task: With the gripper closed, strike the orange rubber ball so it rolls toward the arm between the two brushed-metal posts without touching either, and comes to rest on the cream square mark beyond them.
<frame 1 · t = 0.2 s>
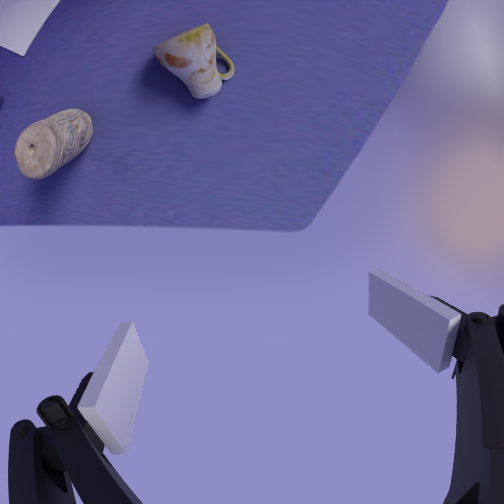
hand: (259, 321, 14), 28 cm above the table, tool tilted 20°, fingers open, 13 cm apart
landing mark: (23, 5, 15), on the table
mug: (196, 64, 29), on the table
carving: (75, 132, 30), on the table
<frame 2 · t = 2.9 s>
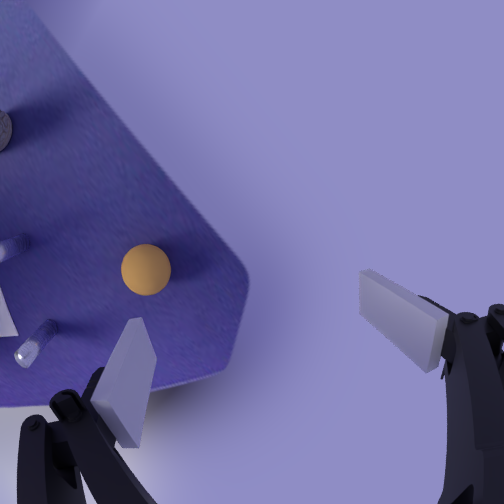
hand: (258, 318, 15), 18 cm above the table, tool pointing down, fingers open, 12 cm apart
post 1: (51, 326, 31), on the table
ball: (145, 269, 29), on the table
post 2: (23, 242, 28), on the table
carving: (2, 133, 24), on the table
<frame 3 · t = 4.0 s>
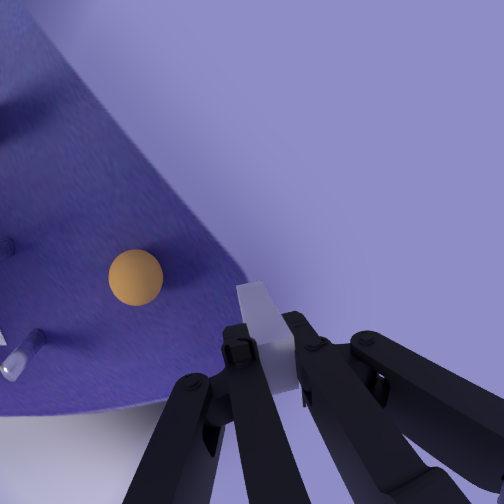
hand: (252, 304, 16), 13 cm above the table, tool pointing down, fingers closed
post 1: (38, 336, 28), on the table
ball: (135, 277, 26), on the table
post 2: (8, 247, 24), on the table
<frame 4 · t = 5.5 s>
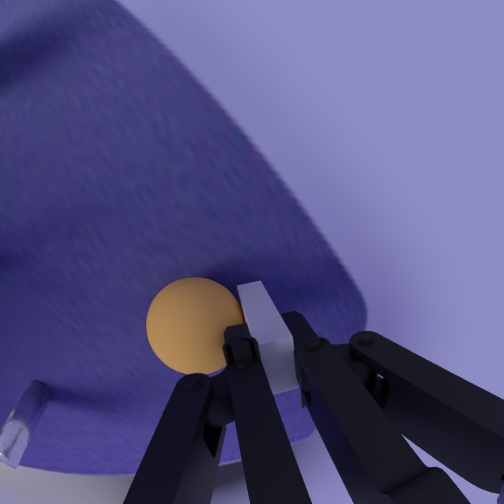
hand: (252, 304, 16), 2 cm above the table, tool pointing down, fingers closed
post 1: (41, 390, 17), on the table
ball: (195, 326, 15), on the table, touching gripper
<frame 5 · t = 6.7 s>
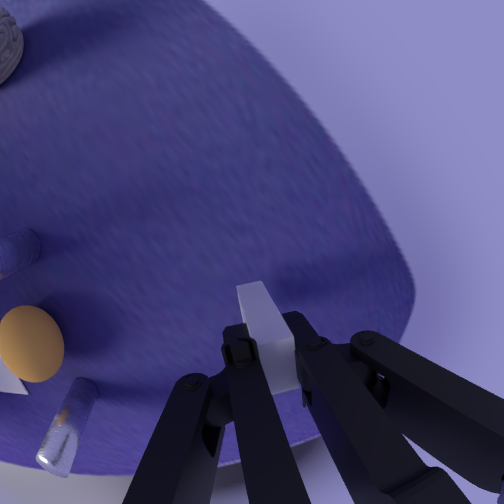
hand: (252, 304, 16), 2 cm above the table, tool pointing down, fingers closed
post 1: (85, 388, 18), on the table
ball: (30, 344, 14), on the table
post 2: (28, 246, 15), on the table
carving: (4, 62, 11), on the table
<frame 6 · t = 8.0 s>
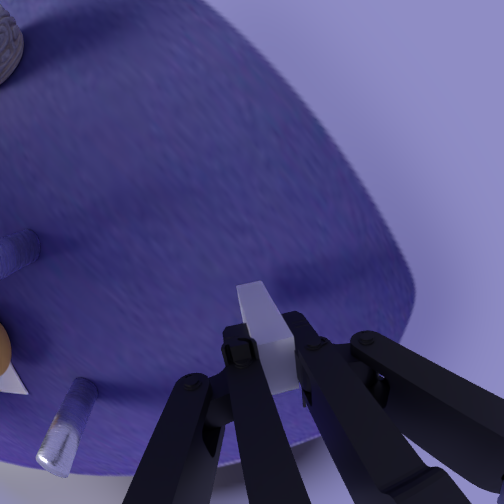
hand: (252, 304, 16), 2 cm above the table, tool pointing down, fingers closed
post 1: (85, 388, 18), on the table
post 2: (28, 246, 15), on the table
carving: (4, 62, 11), on the table
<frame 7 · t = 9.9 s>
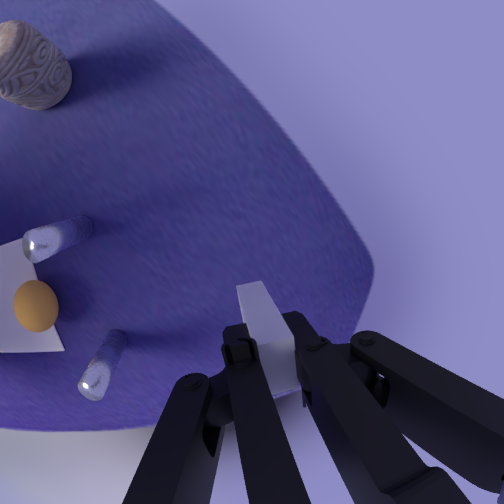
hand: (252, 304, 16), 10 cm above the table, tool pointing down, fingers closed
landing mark: (8, 302, 24), on the table
post 1: (117, 339, 27), on the table
ball: (35, 306, 22), on the table
post 2: (82, 227, 24), on the table
carving: (54, 86, 20), on the table
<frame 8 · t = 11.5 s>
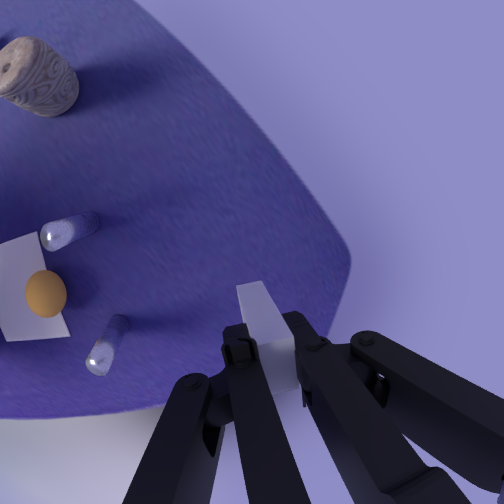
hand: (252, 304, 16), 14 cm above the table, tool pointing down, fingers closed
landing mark: (17, 293, 27), on the table
post 1: (119, 323, 30), on the table
ball: (45, 293, 25), on the table
post 2: (90, 222, 27), on the table
carving: (62, 95, 23), on the table
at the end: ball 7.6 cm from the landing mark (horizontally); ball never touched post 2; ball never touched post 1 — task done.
